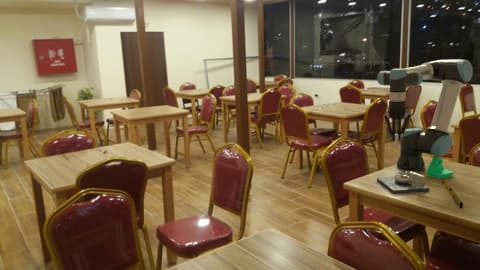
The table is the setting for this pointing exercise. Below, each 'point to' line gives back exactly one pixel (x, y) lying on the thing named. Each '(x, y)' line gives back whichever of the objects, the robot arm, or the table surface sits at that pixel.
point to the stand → (400, 185)
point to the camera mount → (438, 169)
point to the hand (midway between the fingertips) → (395, 146)
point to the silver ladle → (411, 179)
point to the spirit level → (452, 193)
